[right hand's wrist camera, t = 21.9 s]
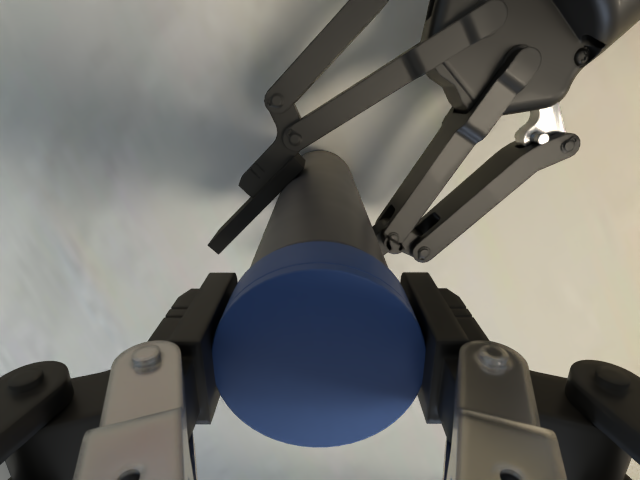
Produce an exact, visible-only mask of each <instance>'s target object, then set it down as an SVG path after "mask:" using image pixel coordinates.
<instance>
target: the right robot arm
mask: <svg viewBox="0 0 640 480" xmlns="http://www.w3.org/2000/svg"><path fill="white" fill-rule="evenodd" d="M237 283H238V282H237V276H236V274H235V273H209V275H208V276H207V278H206V279H205V281H204V283H203V284H202V286H201V288H200V289H190V290H189V291H187V292H186V293H184V294H183V295H181V296H180V297H178V299H177V300H176V301H175V303H174V304H173V306H172V307H171V309H170V310H169V311H168V313H167V314H166V317H165V318H164V319H163V320H162V321H161V323H160V324H159V326H158V327H157V329H156V330H155V331H154V333H153V334H152V336H151V337H150V339H149V340H148V341H147V342H144V343H141V344H138V345H135V346H133V347H131V348H129V349H127V350H125V351H124V352H122V353H121V354H120V355H119V356H118V357H117V358H116V359H115V360H114V362H113V364H112V367H111V370H108V371H105V372H101V373H96V374H91V375H86V376H82V377H77V378H72V379H71V378H70V375H69V371H68V368H67V366H66V365H65V364H63V363H61V362H57V361H43V362H37V363H32V364H29V365H25V366H23V367H20V368H17V369H15V370H13V371H11V372H9V373H7V374H5V375H4V376H2V377H0V464H2V463H3V462H4V461H5V462H6V465H7V467H8V470H9V473H10V475H11V477H10V478H9V479H8V480H197V467H196V455H195V444H194V437H193V429H194V427H195V424H211V421H212V418H213V415H214V412H215V409H216V406H217V403H218V400H219V397H220V393H219V391H218V388H217V386H216V383H215V375H214V367H213V358H212V343H213V338H214V335H215V332H216V329H217V327H218V324H219V322H220V320H221V317H222V315H223V313H224V311H225V308H226V306H227V304H228V302H229V299H230V297H231V295H232V293H233V291H234V289H235V287H236V285H237ZM400 284H401V285H402V287H403V289H404V291H405V293H406V295H407V298H408V300H409V302H410V305H411V307H412V309H413V312H414V314H415V316H416V319H417V321H418V323H419V326H420V328H421V331H422V333H423V336H424V340H425V345H426V354H425V363H424V372H423V380H422V385H421V388H420V390H419V392H418V394H417V395H418V398H419V401H420V404H421V407H422V411H423V414H424V417H425V420H426V423H427V424H442V426H443V428H444V431H445V434H446V436H447V437H446V444H445V455H444V468H443V480H632V479H631V478H630V477H629V476H628V475H627V474H626V471H627V469H628V466H629V463H630V461H631V458H633V459H634V460H635V461H636V462H637V463H638V464H640V377H638V376H637V375H635V374H633V373H632V372H630V371H628V370H626V369H624V368H621V367H619V366H616V365H613V364H610V363H606V362H602V361H596V360H581V361H577V362H575V363H574V364H573V365H572V366H571V368H570V371H569V375H568V378H563V377H558V376H554V375H549V374H544V373H539V372H535V371H531V370H529V367H528V364H527V362H526V360H525V359H524V358H523V357H522V356H521V355H520V354H519V353H518V352H516V351H515V350H513V349H511V348H509V347H507V346H505V345H502V344H499V343H496V342H492V341H489V339H488V338H487V336H486V335H485V334H484V332H483V331H482V329H481V328H480V326H479V325H478V323H477V322H476V320H475V319H474V318H473V317H472V315H471V313H470V312H469V310H468V309H466V306H465V305H464V303H463V302H462V300H461V299H460V297H459V296H457V295H456V294H454V293H453V292H451V291H450V290H448V289H447V288H437V286H436V284H435V283H434V281H433V279H432V278H431V276H430V275H429V273H428V272H403V273H402V276H401V282H400Z"/></svg>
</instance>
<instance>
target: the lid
mask: <svg viewBox="0 0 640 480" xmlns="http://www.w3.org/2000/svg"><path fill="white" fill-rule="evenodd" d="M425 354H426V345H425V340H424V336H423V333H422V331H421V328H420V326H419V323H418V321H417V319H416V316H415V314H414V312H413V309H412V307H411V305H410V302H409V300H408V298H407V295H406V293H405V291H404V289H403V287H402V285H401V284H400V282H399V280H398V279H397V278H396V277H395V275H394V274H393V273H392V272H391V271H390V270H389V269H388V268H387V267H386V266H385V265H384V264H383V263H382V262H380V261H379V260H377V259H376V258H375V257H373V256H371V255H370V254H368V253H366V252H364V251H362V250H360V249H357V248H354V247H352V246H348V245H344V244H340V243H334V242H325V241H314V242H304V243H297V244H294V245H290V246H286V247H283V248H281V249H278V250H276V251H274V252H272V253H270V254H268V255H266V256H265V257H263V258H262V259H260V260H259V261H258V262H256V263H255V264H254V265H253V266H252V267H251V268H250V269H249V270H248V271H246V272H245V274H244V275H243V276H242V278H241V279H240V280H239V282H238V283H237V285H236V287H235V289H234V291H233V293H232V295H231V297H230V299H229V302H228V304H227V306H226V308H225V311H224V313H223V315H222V317H221V320H220V322H219V324H218V327H217V329H216V332H215V335H214V338H213V343H212V358H213V367H214V375H215V383H216V386H217V388H218V391H219V393H220V395H221V397H222V398H223V400H224V401H225V403H226V404H227V406H228V407H229V408H230V409H231V410H232V412H233V413H234V414H235V415H236V416H237V417H238V418H240V419H241V420H242V421H243V422H244V423H245V424H247V425H248V426H250V427H251V428H252V429H254V430H256V431H258V432H259V433H261V434H263V435H265V436H267V437H270V438H272V439H275V440H277V441H281V442H284V443H287V444H292V445H297V446H304V447H333V446H341V445H346V444H351V443H354V442H357V441H360V440H364V439H366V438H368V437H370V436H373V435H375V434H377V433H378V432H380V431H382V430H384V429H385V428H387V427H388V426H390V425H391V424H392V423H394V422H395V421H396V420H397V419H398V418H399V417H400V416H401V415H403V414H404V413H405V411H406V410H407V409H408V408H409V406H410V405H411V404H412V402H413V401H414V399H415V398H416V396H417V394H418V392H419V390H420V388H421V385H422V380H423V372H424V363H425Z"/></svg>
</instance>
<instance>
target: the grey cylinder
mask: <svg viewBox="0 0 640 480" xmlns="http://www.w3.org/2000/svg"><path fill="white" fill-rule="evenodd" d="M302 157H303V158H304V159H305V160H306V161H305V167H304V169H303V170H302V171H301V172H300V173H299V174H298V175H297V176H296V177H295V178H294V179H293V180H292V181H291V182H290V183H289V184H288V185H287V186H286V187H285V188H284V189H283V190H282V191H281V192H280V195H279V197H278V200H277V202H276V205H275V207H274V210H273V212H272V215H271V217H270V220H269V222H268V224H267V227H266V229H265V232H264V234H263V237H262V239H261V242H260V244H259V247H258V249H257V252H256V254H255V257H254V259H253V262H252V264H251V267H252V266H253V265H254V264H255V263H256V262H258V261H259V260H260V259H262V258H263V257H265V256H266V255H268V254H270V253H272V252H274V251H276V250H278V249H281V248H283V247H286V246H290V245H294V244H297V243H304V242H314V241H325V242H334V243H340V244H344V245H348V246H352V247H354V248H357V249H360V250H362V251H364V252H366V253H368V254H370V255H371V256H373V257H375V258H376V259H377V260H379V261H380V262H382V263H383V264H384V265H385V266H386V267H387V268H388V266H387V264H386V261H385V258H384V256H383V253H382V251H381V248H380V246H379V243H378V241H377V238H376V236H375V233H374V230H373V228H372V225H371V223H370V220H369V218H368V215H367V213H366V210H365V208H364V205H363V203H362V200H361V197H360V195H359V192H358V190H357V187H356V185H355V182H354V180H353V177H352V175H351V172H350V170H349V168H348V166H347V164H346V163H345V162H344V161H343V160H342V159H341V158H340V157H338V156H337V155H335V154H333V153H331V152H327V151H312V152H309V153H306V154H304V155H302ZM251 267H250V268H251Z"/></svg>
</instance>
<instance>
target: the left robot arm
mask: <svg viewBox="0 0 640 480" xmlns="http://www.w3.org/2000/svg"><path fill="white" fill-rule="evenodd" d="M388 1H389V0H349V1H348V2H347V3H346V4H345V5H344V7H343V8H342V9H341V10H340V11H339V12H338V13H337V14H336V15H335V17H334V18H333V19H332V20H331V21H330V22H329V23H328V24H327V25H326V27H325V28H324V29H323V30H322V31H321V32H320V33H319V34H318V36H317V37H316V38H315V39H314V40H313V41H312V42H311V43H310V44H309V46H308V47H307V48H306V49H305V50H304V51H303V52H302V53H301V54H300V56H299V57H298V58H297V59H296V60H295V61H294V62H293V63H292V64H291V66H290V67H289V68H288V69H287V70H286V71H285V72H284V73H283V75H282V76H281V77H280V78H279V79H278V80H277V81H276V82H275V83H274V85H273V86H272V87H271V88H270V89H269V90H268V91H267V93H266V95H265V99H264V102H265V106H266V108H267V109H268V110H269V112H270V114H271V116H272V118H273V120H274V122H275V124H276V127H277V137H276V140H275V141H274V143H273V144H272V145H271V146H270V147H269V148H268V149H267V150H266V151H265V152H264V153H263V154H262V155H261V156H260V158H259V159H258V160H257V161H256V162H255V163H254V164H253V165H252V166H251V167H250V168H249V169H248V170H247V171H246V172H245V173H244V174H243V175H242V177H241V180H240V183H239V186H240V187H241V188H242V189H243V190H244V191H245V192H246V193H247V194H248V195H249V196H250V198H249V199H248V200H247V201H246V202H245V203H244V204H243V205H242V206H241V207H240V209H239V210H238V211H237V212H236V213H235V214H234V215H233V216H232V217H231V218H230V219H229V220H228V221H227V222H226V223H225V224H224V225H223V226H222V227H221V228H220V229H219V230H218V232H217V233H216V235H215V236H214V237H213V239H212V240H211V241H210V243H209V244H208V246H209V247H210V248H211V249H213V250H214V251H215V252H216V253H217V254H218V255H219V254H220V253H221V252H222V251H223V250H224V249H225V248H226V247H227V246H228V245H229V244H230V243H231V241H232V240H233V239H234V238H235V237H236V236H237V235H238V234H239V233H240V232H241V231H242V230H243V229H244V228H245V227H246V226H247V225H248V224H249V223H250V222H251V221H252V220H253V219H254V218H255V217H256V216H257V215H258V214H259V213H260V212H261V211H262V210H263V209H264V208H265V207H266V206H267V205H268V204H269V203H270V202H271V201H272V200H273V199H274V198H275V197H276V196H277V195H278V194H279V193H280V192H281V191H282V190H283V189H284V188H285V187H286V186H287V185H288V184H289V183H290V182H291V181H292V180H293V179H294V178H295V177H296V176H297V175H298V174H299V173H300V172H301V171H302V170H303V169H304V167H305V161H306V160H305V159H304V158H303V157H302V156H301V155H300V154H299V153H298V152H299V151H300V150H302V149H303V148H305V147H307V146H308V145H310V144H312V143H313V142H315V141H316V140H318V139H320V138H321V137H323V136H324V135H326V134H328V133H329V132H331V131H332V130H334V129H336V128H337V127H339V126H340V125H342V124H344V123H345V122H347V121H348V120H350V119H352V118H353V117H355V116H357V115H358V114H360V113H361V112H363V111H365V110H366V109H368V108H369V107H371V106H373V105H374V104H376V103H377V102H379V101H381V100H382V99H384V98H385V97H387V96H389V95H390V94H392V93H393V92H395V91H397V90H398V89H400V88H402V87H403V86H405V85H406V84H408V83H410V82H411V81H413V80H415V79H416V78H418V77H420V76H422V75H424V74H426V75H427V76H428V77H429V78H430V79H431V80H433V81H434V82H436V83H437V84H439V85H440V86H442V88H443V90H444V92H445V94H446V97H447V99H448V101H449V103H450V104H451V105H452V108H451V109H450V111H449V112H448V114H447V115H446V116H445V118H444V120H443V122H442V126H441V128H440V130H439V131H438V133H437V134H436V135H435V137H434V138H433V140H432V141H431V143H430V144H429V146H428V147H427V148H426V150H425V151H424V153H423V154H422V156H421V157H420V158H419V160H418V161H417V163H416V164H415V166H414V167H413V168H412V170H411V171H410V173H409V174H408V176H407V177H406V179H405V180H404V181H403V183H402V184H401V186H400V187H399V189H398V190H397V191H396V193H395V194H394V196H393V197H392V199H391V200H390V202H389V203H388V204H387V206H386V207H385V209H384V210H383V212H382V213H381V214H380V216H379V217H378V219H377V221H376V223H375V225H374V226H373V227H372V228H373V230H374V233H375V236H376V238H377V241H378V243H379V246H380V248H381V251H382V253H383V256H384V255H385V254H386V253H388V252H389V253H391V254H399V253H401V252H403V253H406V254H408V255H410V256H412V257H414V258H415V260H416V261H418V262H422V263H424V262H428V261H429V260H431V259H432V258H433V257H435V256H436V255H437V254H438V253H439V252H441V251H442V250H443V249H444V248H446V247H447V246H448V245H449V244H450V243H452V242H453V241H454V240H455V239H456V238H458V237H459V236H460V235H461V234H462V233H464V232H465V231H466V230H467V229H468V228H470V227H471V226H472V225H473V224H474V223H476V222H477V221H478V220H479V219H480V218H482V217H483V216H484V215H485V214H486V213H488V212H489V211H490V210H491V209H492V208H494V207H495V206H496V205H497V204H498V203H500V202H501V201H502V200H503V199H504V198H506V197H507V196H508V195H509V194H510V193H512V192H513V191H514V190H515V189H516V188H518V187H519V186H520V185H521V184H522V183H524V182H525V181H526V180H527V179H528V178H530V177H531V176H532V175H533V174H534V173H536V172H537V171H539V170H541V169H543V168H546V167H548V166H550V165H553V164H555V163H557V162H560V161H562V160H565V159H567V158H569V157H571V156H573V155H574V154H575V153H576V152H577V151H578V150H579V147H580V139H579V137H578V136H577V135H575V134H572V133H566V131H565V126H564V122H563V117H562V113H561V109H560V104H559V102H560V101H561V100H562V99H563V98H564V97H565V95H566V94H567V92H568V90H569V88H570V86H571V84H572V82H573V80H574V78H575V77H576V75H577V74H578V73H579V71H580V70H581V69H582V68H583V67H584V66H586V65H587V64H588V63H590V62H591V61H592V60H594V59H595V58H596V57H597V56H599V55H600V54H601V53H602V52H604V51H605V50H606V49H607V48H608V47H609V46H610V45H612V44H613V43H614V42H615V41H616V40H617V39H618V38H620V37H621V36H622V35H623V34H624V33H625V32H626V31H628V30H629V29H630V28H631V27H632V26H633V25H634V24H635V23H637V22H638V21H639V20H640V0H430V2H429V7H428V11H427V16H426V20H425V24H424V29H423V33H422V38H421V42H420V43H418V44H416V45H415V46H413V47H412V48H410V49H409V50H407V51H406V52H404V53H402V54H401V55H399V56H398V57H396V58H395V59H393V60H392V61H390V62H389V63H387V64H386V65H384V66H382V67H381V68H379V69H378V70H376V71H375V72H373V73H371V74H370V75H368V76H367V77H365V78H364V79H362V80H360V81H359V82H357V83H356V84H354V85H353V86H351V87H350V88H348V89H346V90H345V91H343V92H342V93H340V94H339V95H337V96H335V97H334V98H332V99H331V100H329V101H328V102H326V103H324V104H323V105H321V106H320V107H318V108H317V109H315V110H314V111H312V112H310V113H309V114H307V115H306V116H304V117H303V118H301V116H300V114H299V112H298V110H297V108H296V105H295V103H296V102H297V101H298V100H299V98H300V97H301V96H302V95H303V94H304V93H305V92H306V91H307V90H308V89H309V88H310V87H311V86H312V84H313V83H314V82H315V81H316V80H317V79H318V78H319V77H320V76H321V75H322V74H323V73H324V72H325V70H326V69H327V68H328V67H329V66H330V65H331V64H332V63H333V62H334V61H335V60H336V59H337V58H338V56H339V55H340V54H341V53H342V52H343V51H344V50H345V49H346V48H347V47H348V46H349V45H350V44H351V42H352V41H353V40H354V39H355V38H356V37H357V36H358V35H359V34H360V33H361V32H362V31H363V30H364V28H365V27H366V26H367V25H368V24H369V23H370V22H371V21H372V20H373V19H374V18H375V17H376V15H377V14H378V13H379V12H380V11H381V10H382V9H383V7H384V6H385V5H386V4H387V2H388ZM527 111H530V117H529V120H528V121H527V123H526V124H525V125H523V126H522V127H521V128H519V130H518V131H517V132H516V133H515V140H516V141H514V142H512V143H510V144H508V145H507V146H505V147H504V148H502V149H501V150H499V151H498V152H497V153H496V154H494V155H493V156H492V157H491V158H490V159H489V160H487V161H486V162H485V163H484V164H483V165H482V166H481V167H479V168H478V169H477V170H476V171H475V172H474V173H472V174H471V175H470V176H469V177H468V178H467V179H466V180H464V181H463V182H462V183H461V184H460V185H459V186H458V187H456V188H455V189H454V190H453V191H452V192H451V193H450V194H448V195H447V196H446V197H445V198H444V199H443V200H442V201H440V202H439V203H438V204H437V205H436V206H435V207H433V208H432V209H431V210H430V211H429V212H428V213H427V214H425V215H424V213H425V212H426V211H427V209H428V208H429V207H430V205H431V204H432V203H433V201H434V200H435V199H436V197H437V196H438V194H439V193H440V192H441V190H442V189H443V188H444V186H445V185H446V184H447V182H448V181H449V179H450V178H451V177H452V175H453V174H454V173H455V171H456V170H457V169H458V167H459V166H460V164H461V163H462V162H463V160H464V159H465V158H466V156H467V155H468V154H469V152H470V151H471V150H472V148H473V147H474V146H475V144H477V143H478V142H480V141H481V140H483V139H484V138H485V137H486V136H487V134H488V133H489V132H490V130H491V129H492V128H493V126H494V125H495V124H496V122H497V121H498V120H499V118H500V117H501V116H502V115H508V114H514V113H521V112H527ZM423 215H424V216H423ZM422 216H423V217H422Z"/></svg>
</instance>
